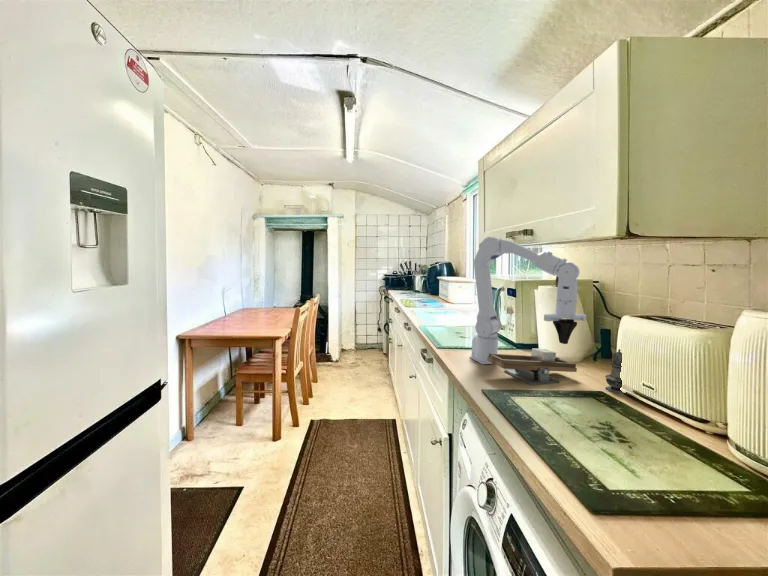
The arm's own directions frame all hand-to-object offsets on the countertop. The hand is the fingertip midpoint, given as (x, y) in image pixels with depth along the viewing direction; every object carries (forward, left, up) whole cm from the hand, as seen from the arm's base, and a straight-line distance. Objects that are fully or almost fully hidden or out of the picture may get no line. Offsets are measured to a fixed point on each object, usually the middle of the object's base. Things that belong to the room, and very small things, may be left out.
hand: (563, 343), depth 116 cm
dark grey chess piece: (+15, +5, -11) cm, 19 cm away
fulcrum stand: (0, -12, -10) cm, 16 cm away
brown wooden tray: (0, -12, -7) cm, 13 cm away
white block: (0, -8, -6) cm, 10 cm away
